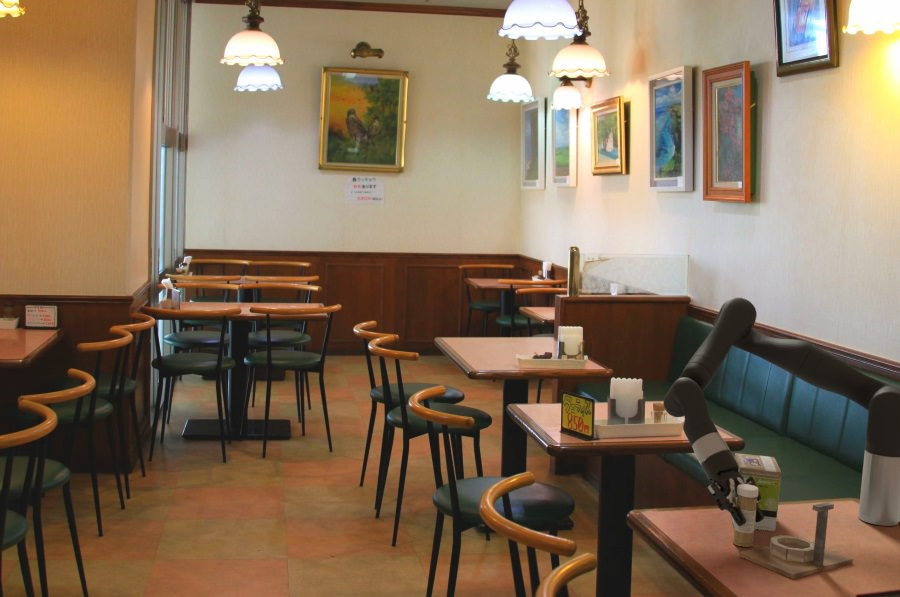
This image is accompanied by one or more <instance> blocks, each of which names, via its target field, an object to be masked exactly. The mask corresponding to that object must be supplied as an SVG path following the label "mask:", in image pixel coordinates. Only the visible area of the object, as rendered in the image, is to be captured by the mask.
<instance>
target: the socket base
mask: <svg viewBox="0 0 900 597" xmlns="http://www.w3.org/2000/svg"><path fill="white" fill-rule="evenodd" d="M834 507H835V504H834V503H832V502H828V501H827V502H822V503H816V504H813V505H812V511H815V512H817V513H816V524H815V525H816V526H815V534H814V542H813V541H811V540H809V539H806V538H803V537H799V536H794V535H784V534H783V535H782V534H781V535H776V536H772V537H771V536H770V540H769V545H764V546H761V547H757V548H751V549H747V550H743V551H740V552H739V557H740V558H742V559H744V558H745V560H746V559H747V560H746V561H749V560H750V561H749V562H751V561H752V562H751V563H754V564H756V563H757V564H756V565H758V564H759V566H761V567H764V568H765V567H766V569H768V570H771V571H772V570H773V571H772V572H775V571H776V572H775V573H777V572H778V574H779V575H782V574H783V575H782V576H784V575H785V577H787V578H789V577H790V578H789V579H792V580H794V579H799V578H801V577H805V576H810V575H814V574H817V573H818V574H819V573H821V571H822V572H825V570H826V571H829V569H830V570H834V569H837V568H841V567H845V566H848V565H852V564H853V563H854V559H853V558H851V557H848V556H847V555H844V554H840V553H839V552H838V553H837V552H835V551H833V550H830V549H827V548H826V539H827V528H828V518H829V510H830V511H831V510H833V509H835V508H834ZM816 572H817V573H816ZM813 573H814V574H813Z"/></svg>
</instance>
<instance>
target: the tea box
mask: <svg viewBox="0 0 900 597" xmlns="http://www.w3.org/2000/svg"><path fill="white" fill-rule="evenodd" d="M734 458H735V460H736V461H737V463H738V465H739V469H738V472H739V473H740V475H741V476H742V477H743V478H749V477H750V476H752V477H753V478H754V481H755V483H756V486H757V487H758V490H759V493H760V495H761V500H759V501H758V502H757V504H758V506H759V508H760V510H761V511H762V513H763V515H764V519H763V520H762V521H760V522H756V521H755V530H757V529H758V530H759V531H765V530H766V532H775V531H776V527H777V520H778V519H777V518H778V512H779V511H778V509H779V500H780V491H781V484H782V483H781V482H782V470H781V467H780V466H779V464H778V462H777V459H776V457H774V456H767V455H758V454H757V455H755V454H748V453H747V454H746V453H737V452H735V453H734ZM730 503H731V502H730ZM736 503H737V497H736ZM730 515H731V514H730ZM731 520H732V521H731V522H732V524H733V527H734V526H735V521H734V519H733V517H732V515H731ZM758 530H757V531H758ZM767 530H768V531H767Z"/></svg>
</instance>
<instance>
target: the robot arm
mask: <svg viewBox="0 0 900 597" xmlns="http://www.w3.org/2000/svg"><path fill="white" fill-rule="evenodd" d="M757 313H758V312H757V309H756V307H755V305H754V304H753V303H752V302H751V301H750V300H748V299H746V298H743V297H738V296H737V297H731V298H729V299H728V300H726V301H725V302H724V303H723V304H722V305H721V307H720V309H719V312H718V313H717V316H716V318H715V320H714V323H713V325H712V327H713V328H712V329H711V331H710V332H709V334H708V335H707V336H706V338H705V339H704V341H702V343H701V344H700V346H699V347H698V348H697V350H696V351H695V352H694V354H693V355H692V357H691V358H690V359H689V361H688V363H687V364H686V365H685V366H684V369H683V370H682V372H681V375H680V376H679V377H678V378H677V379H676V380H675V381H674V382H673V383H672V385H671V387H669V390H668V391H667V392H666V394H665V395H664V397H663V407H664V410H665V411H666V412H667V414H668V415H669V416H672V417H674V418H682V417H684V422H683V425H682V430H683V433H684V435H685V436H686V438H687V440H688V442H689V443H690V445H691V448H692V449H693V452H694V454H695V457H696V459H697V461H698V463H699V465H700V466H701V468H702V469H703V472H704V473H705V475H706V477H707V480H708V481H710V482H711V484H709V485H708V486H707V487H706V488H705V489H706V492H707V493H708V495H709V496H710V498H711V499H712V500H713V501H714V503H715V504H716V506H717V507H718V508H719V510H721V511H727V512H728V513H729V514H730V515H732V517H733V519H734V521H735V522H736V523H737V525H738V526H742V525H744V524H745V523H746V519H745V517H744V516H743V514H742V512H741V510H740V509H739V507H737V503H736V497H738V496H737V487H738V485H740V484H749V485H754V486H756V483H755V481H754V478H753V477H752V476H750V477H749V478H743V477H742V476H741V475H740V473H739V472H738V469H739V465H738V463H737V461H736V460H735V458H734V457H735V455H733V453H732V450H730V447H729V446H728V444H727V442H726V440H725V439H724V438H723V437H722V435H721V434H720V433H719V432H720V431H718V428H717V427H716V425H715V423H714V422H713V420H712V419H711V416H710V411H709V408H708V404H707V401H706V398H705V394H704V392H703V391H704V390H705V389H706V388H707V387H708V386H709V385H710V383H711V382H712V380H713V379H714V377H715V376H716V375H717V373H718V371H719V370H720V368H721V366H722V364H724V360H726V357H727V356H728V353H729V352H730V349H731V348H732V346H733V347H735V348H737V349H740V350H741V351H744V352H747V353H749V354H751V355H753V356H756V357H758V358H761V359H763V360H764V361H766V362H768V363H770V364H772V365H773V366H776V367H778V368H780V369H782V370H784V371H785V372H788V373H789V375H792V376H794V377H796V378H797V379H800V380H801V381H803V382H805V383H806V384H808V385H811V386H813V387H815V388H817V389H820V390H823V391H826V392H830V393H834V394H836V395H840V396H842V397H845V398H847V399H849V400H851V401H852V402H854V404H855V403H856V404H857V405H859V406H860V407H862V408H863V409H864V410H866V411H868V414H867V424H866V433H865V444H864V455H863V456H864V457H863V465H862V466H863V467H862V474H861V475H862V478H861V487H860V495H859V496H860V497H859V505H858V506H859V507H858V519H860V520H861V521H862V522H866V523H869V524H872V525H877V526H883V527H894V526H898V525H899V523H900V388H899V387H896V386H893V385H891V384H890V383H889V384H888V383H886V382H884V381H880V380H878V379H876V378H874V377H871V376H869V375H867V374H865V373H863V372H861V371H859V370H857V369H855V368H854V367H853V366H851V365H850V364H848V363H846V362H845V361H843V360H842V359H840V358H838V357H836V356H835V355H833V354H831V353H830V352H828V351H826V350H824V349H823V348H821V347H819V346H817V345H815V344H813V343H811V342H809V341H806V340H801V339H795V338H794V339H793V338H792V339H790V338H789V339H788V338H779V337H778V338H777V337H771V336H769V335H766V334H764V333H762V332H759V331H758V330H755V329H754V326H755V324H756V323H755V322H756V320H757V315H758V314H757ZM756 487H757V486H756ZM720 499H721V500H720ZM759 500H761V495H760V493H759V490H758V496H757V502H758V501H759ZM722 502H723V503H722ZM730 502H731V503H730ZM732 517H731V518H732ZM763 519H764V515H763V513H762V511H761V510H760V508H759V506H758V504H757V503H756V518H755V521H756V522H760V521H762V520H763Z"/></svg>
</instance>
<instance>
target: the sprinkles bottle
mask: <svg viewBox="0 0 900 597" xmlns="http://www.w3.org/2000/svg"><path fill="white" fill-rule="evenodd" d="M737 496H738V497H737V507H739V509H740V510H741V512H742V514H743V516H744V517H745V519H746V523H745V524H744V525H742V526H738V525H737V523H736V522H735V526H734V525H733V528H734V532H733V540H732V542H733V544H734V545H736V546H737V547H741V546H742V547H743V548H751V547H754V535H755V530H756V529H755V518H756V503H757V496H758V487H756V486H754V485H749V484H740V485H738V487H737ZM742 547H741V548H742Z"/></svg>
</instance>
